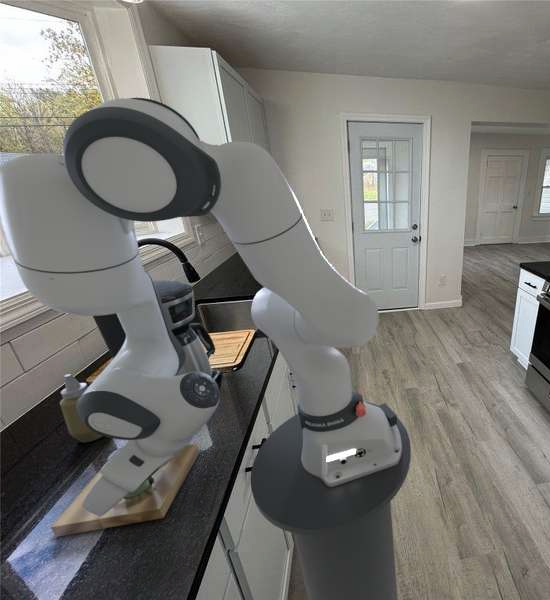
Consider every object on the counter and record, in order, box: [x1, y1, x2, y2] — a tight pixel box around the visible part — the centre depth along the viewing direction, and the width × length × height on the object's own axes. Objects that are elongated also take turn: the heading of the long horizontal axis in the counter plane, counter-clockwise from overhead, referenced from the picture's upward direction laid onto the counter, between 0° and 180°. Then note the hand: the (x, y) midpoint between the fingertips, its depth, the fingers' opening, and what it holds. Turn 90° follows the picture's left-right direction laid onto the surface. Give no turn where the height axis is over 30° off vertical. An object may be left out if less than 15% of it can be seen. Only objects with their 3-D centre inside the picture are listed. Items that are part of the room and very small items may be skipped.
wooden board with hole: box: [50, 443, 200, 537], centre depth 65 cm, size 18×16×2 cm
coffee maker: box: [92, 279, 221, 381], centre depth 93 cm, size 23×32×34 cm
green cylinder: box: [106, 447, 151, 499], centre depth 62 cm, size 4×4×12 cm
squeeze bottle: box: [59, 373, 103, 443], centre depth 78 cm, size 8×8×18 cm
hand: (130, 475), depth 62 cm, fingers open, 7 cm apart
